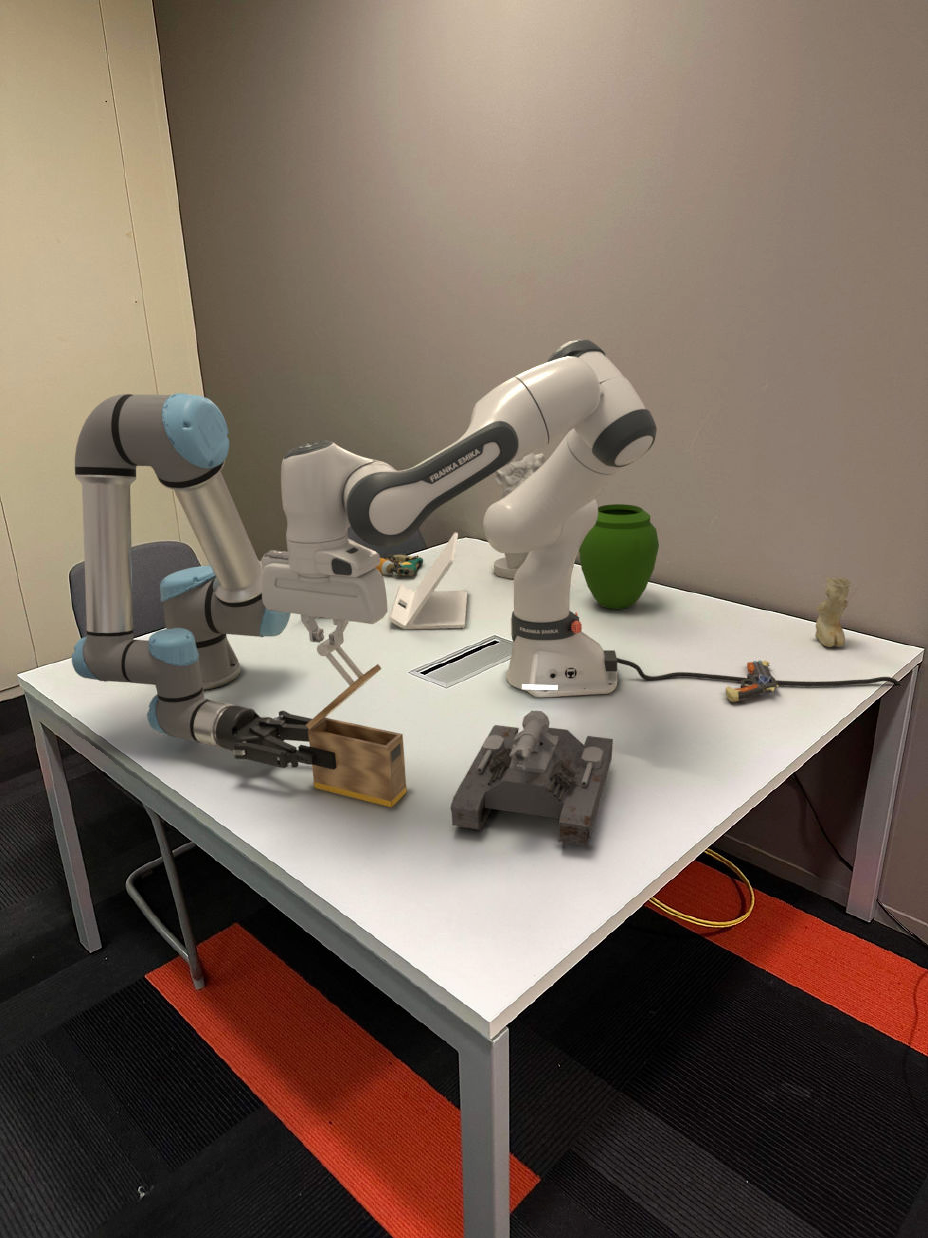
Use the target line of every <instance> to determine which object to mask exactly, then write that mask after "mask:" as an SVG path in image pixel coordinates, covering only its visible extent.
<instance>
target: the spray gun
mask: <svg viewBox="0 0 928 1238" xmlns="http://www.w3.org/2000/svg"><path fill="white" fill-rule="evenodd" d="M423 563H424V558H423V557H421V556H419V555H418V554H417V555H413V556H410V555H406V554H401V553H400V554H387V555H385V556H384V558H383V557H380V564H379V565H378V566H377V567H375V568H376V569H377V570H379V571H380V573H381V574H382V575H385V576H386V575H387V576H388V575H391V574H393V573H394V574H397V575H398V576H410V577H411V576H414V575H415V573H416V572H417V569H418V568H419V566H422V565H423Z"/></svg>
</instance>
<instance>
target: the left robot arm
mask: <svg viewBox="0 0 928 1238" xmlns="http://www.w3.org/2000/svg"><path fill="white" fill-rule="evenodd" d="M228 434H229V428H228V425H227V421H226V419H225V417H224V414H223V413H222V412H221V410H220V408H219V407H218V406H217V405H216V404H215V402H213V401H212V400H211V399H209V398H207V397H206V396H203V395H198V394H189V393H185V392H184V393H183V392H178V393H172V394H130V393H122V394H116V395H114V396H110V397H108V398H106V399H104V400H102V401H101V402H100V403H99V404H98V405H96V406H95V407H94V408H93V410H91V412H90V413H89V415H88V416H87V417H86V419H85V421H84V423H83V425H82V427H81V430H80V432H79V435H78V438H77V442H76V446H75V453H74V477H75V478H76V480H78V481H79V482H80V483H81V494H82V495H81V496H82V525H83V527H82V528H83V552H84V553H83V556H84V557H83V558H84V584H85V585H84V588H85V615H86V636H84V637H81V638H79V639H78V640H77V642H76V643H75V644H74V646H73V650H74V651H73V653H71V665H72V669H73V670H74V672H75V673H76V674H77V676H79V677H81V678H83V679H89V680H96V681H99V682H104V683H106V682H107V683H108V682H113V683H130V684H141V685H150V686H151V685H152V686H155V688H156V694H155V695H154V696H153V697H152V698H151V700H150V702H149V704H148V712H147V713H146V718H147V722H148V724H149V726H150V728H151V729H152V730H154V731H155V732H157V733H161V734H163V735H166V736H168V737H171V738H175V739H176V738H178V739H184V740H188V741H192V742H196V743H200V744H206V745H208V746H211V747H215V748H222V749H223V750H228V751H231V752H233V757H234V760H247V761H253V762H257V763H260V764H264V765H268V766H273V767H276V768H281V769H286V768H288V766H289V765H288V764H291V765H290V766H291V768H292V769H294V768H297V767H299V763H300V764H304V765H309V766H312V765H316V766H320V767H324V768H328V769H332V770H334V769H336V768H337V767H336V757H335V753H334V752H330V751H326V750H322V749H318V748H313V747H310V745H309V746H308V745H304V744H300V745H298V746H295V745H293V744H290V743H288V742H287V741H293V742H304V743H305V742H307V743H309V735H308V730H309V729H308V727H307V726H306V724H307V723H308V722H310V721H311V720H312V719H313V718H310V717H306V716H301V715H296V714H292V713H289V712H288V711H286V710H280V711H278V716H276V717H273V718H272V717H269V716H266V717H265V716H260V715H259V714H258V713H257V712H256V711H255V710H254V709H252V708H250V707H249V708H248V707H245V706H240V705H234V704H232V703H227V702H222V701H216V700H211V699H208V698H205V693H204V691H207V690H212V689H216V688H219V687H222V686H225V685H227V684H229V683H232V682H233V681H234V680H236V679H237V678H238V677H239V675H240V673H241V667H240V662H239V659H238V657H237V655H236V653H235V651H234V650H233V649H234V648H233V647H232V645H231V643H230V642H229V640H228V636H227V635H233V636H244V637H245V636H247V637H255V638H256V637H257V638H265V637H266V638H267V637H278V636H280V635H281V634H283V632H284V631H285V629H286V628H287V626H288V623H289V621H290V617H291V615H292V613H287V612H279V611H272V610H268V609H267V608H266V607H265V606H264V604H263V601H262V574H263V571H262V563H261V560H259V559H258V556H257V555H256V552H255V549H254V547H253V545H252V542H251V540H250V538H249V535H248V532H247V530H246V528H245V526H244V523H243V521H242V519H241V516H240V515H239V514H240V513H239V511H238V509H237V507H236V503H235V502H234V499H233V498H232V495H231V493H230V490H229V488H228V485H227V483H226V481H225V479H224V476H223V473H222V470H223V468H224V467H225V463H226V458H227V457H228V454H229V448H230V439H229V438H228ZM138 467H150V468H151V469H152V470H153V471H154V474H155V475H156V477H157V479H158V482H159V483H160V484H161V485H162V486H163V487H165V488H167V489H170V490H173V491H174V494H175V496H176V498H177V500H178V502H179V504H180V506H181V508H182V511H183V512H184V514H185V517H186V518H187V521H188V523H189V525H190V527H191V529H192V531H193V533H194V535H195V537H196V540H197V541H198V544H199V546H200V547H201V550H202V552H203V554H204V556H205V559H206V560H207V562H208V564H209V565H200V566H194V567H188V568H184V569H180V570H177V571H175V572H173V573H170V574H168V575H166V576H165V577H163V579H162V580H161V581H160V583H159V589H160V603H161V606H162V612H163V618H164V619H163V620H164V624H165V628H164V629H161V630H160V629H159V630H157V631H155V632H154V633H152V634H151V635H150V636H149V638H148V640H146V639H145V640H144V639H134V637H135V636H134V607H133V605H134V604H133V601H134V600H133V599H134V598H133V562H132V561H133V559H132V557H133V555H132V515H131V514H132V513H131V512H132V511H131V510H132V509H131V508H132V507H131V506H132V505H131V485H132V484H133V483H134V482H135V481H136V480H137V468H138ZM297 748H298V749H297Z"/></svg>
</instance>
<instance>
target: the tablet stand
mask: <svg viewBox="0 0 928 1238" xmlns="http://www.w3.org/2000/svg"><path fill="white" fill-rule="evenodd" d="M458 537H459V533H458V532H456V531H455V532H453V534H452V535H451V537H450V539H449V540H448V542H447V543H446V544H445V546H444V548H443V549H442V551H441V552H440V554H439V555H438V556H437V558H436V559H435V561H434V562H433V564H432V565H431V567H430V568H429V569H428V571H427V573H426V574H425V575H424V577H423V579H422V580H421V581H420V583H419V584H418V585H417V587H416V589H415V590H412V589H410V588H409V587H407V586H406V585H403V584H400V585H399V586H398V589H397V591H396V595H395V598H394V601H393V604H392V607H391V610H390V612H389V613H390V614H389V617H388V621H389V622H391V623H392V624H394V625H396V626H398V627H399V628H401V629H402V630H426V629H427V630H429V629H430V630H431V629H435V630H436V629H437V630H438V629H464V628H465V627H466V618H467V617H466V616H467V605H468V591H467V590H436V589H437V587H438V585H440V582H441V581H442V580H443V578H444V577H445V575H446V574H447V573H448V571H449V570H450V569H451V567H452V566H453V564H454V562H455V558H456V553H457V545H458ZM399 603H400V604H399ZM402 605H403V606H405V607H403V606H402Z"/></svg>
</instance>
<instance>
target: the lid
mask: <svg viewBox="0 0 928 1238" xmlns="http://www.w3.org/2000/svg"><path fill="white" fill-rule="evenodd" d="M329 641H330V639H329V638H328V639H325V640H323V641H322V642H320V643H318V645H317V646H316V652H317V654H318V655H319V656H321V657H325V658H326V659H327V660H328V661H329V662H330V664H331V665H332V666H333V667H334V668H335V670H336V671H337V672H338V674H339V675H340V676H341V677H342V678H343V679H344V680H345V682H346V683H347V684H348V685H349V686H348V687H347V688H346V689H344V690H343V691H342V692H341V693H340V694H338V696H336V697H335V699H333V700H332V701H331V702H330V703H328V705H326V707H324V708H323V709H322V710H321V711H320V712H318V713H317V714H316V715H315V716H314V717H313V718H311V719H312V720H311V721H310V722H308V723H307V724H306V726H307V727H308V729H311V728H312V727H314V726H315V725H316V724H318V723H319V722H320V721H322V720H323V719H324V718H328V716H329V715H330V714H332V713H333V712H334V711H335V710H336V709H338V707H340V706H341V705H342V704H343V703H344V702H345V701H347V700H348V699H349V698H350V697H351V696H353V694H355V693H356V692H357V691H359V689H360V688H361V687H363V686H364V685H365V684H366V683H367V682H368V681H370V680H371V679H372V678H373V677H374V676H376V674H377V673H379V672H380V671H381V670H382V667H381V665H380V664H378V663H377V664H376V665H374V666H373V667H372V668H370V669H368V670H367V671H366V672H365V673H362V671H361V669H360V668H358V666H357V665H356V664H355V662H354V661H353V660H352V659H351V658H350V656H349V655H348V654H347V653H346V651H345V650H344V649H343V648H342V646H341V645H340V646H336V645H331V644H330V643H329ZM334 651H336V652H337V654H338V655H339V657H341V659H342V660H343V661H344V662H345V664H346V665H347V666H348V668H349V669H350V670H351V671H352V672H353V674H354V675H355V676H356V677H357V679H356V680H354V679H353V678H352V677H351V675H349V673H348V672H347V671H346V669H345V668H344V667H343V666H342V665H341V663H340V662H339V661H338V660H337V659H336V657H335V656H334V655H333V654H332V652H334Z"/></svg>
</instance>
